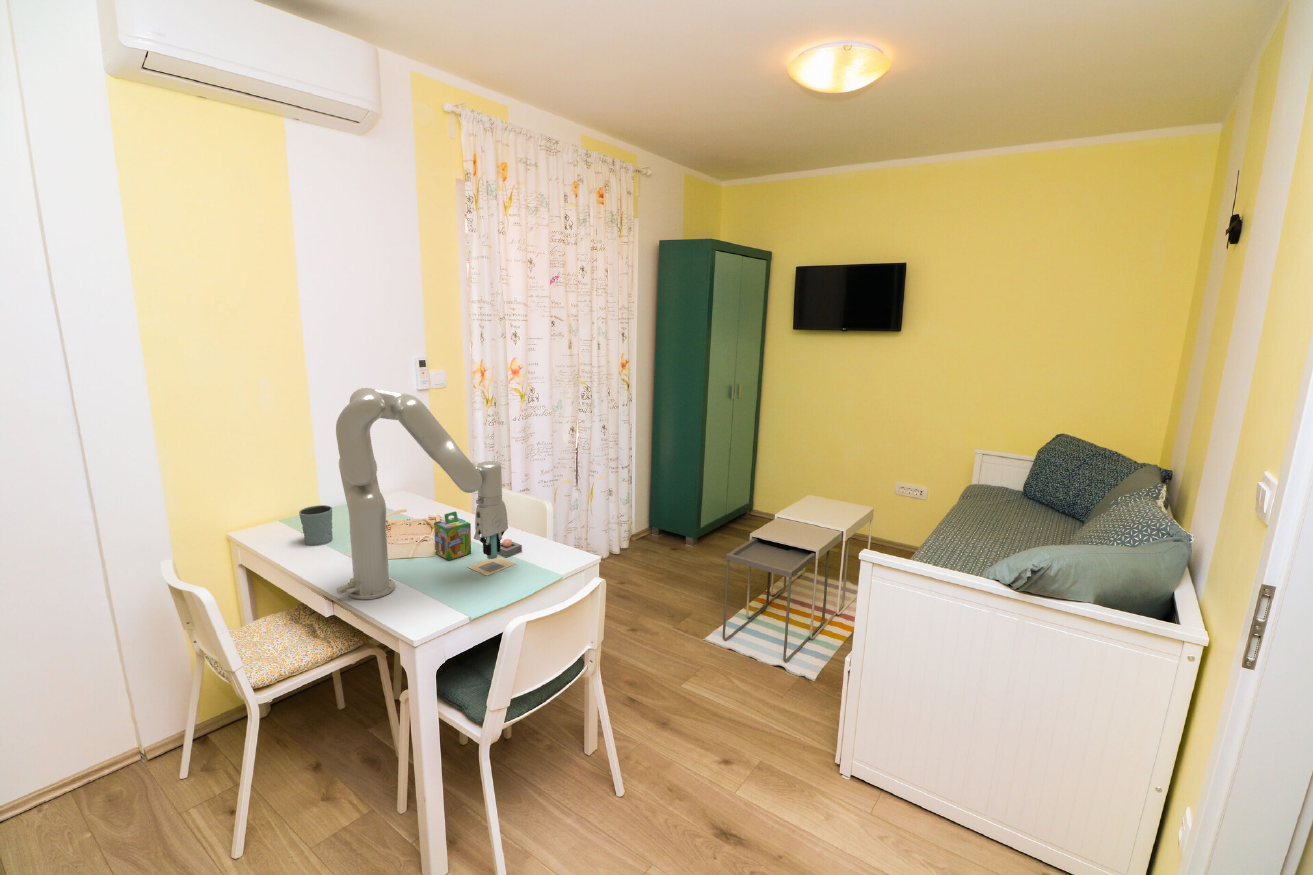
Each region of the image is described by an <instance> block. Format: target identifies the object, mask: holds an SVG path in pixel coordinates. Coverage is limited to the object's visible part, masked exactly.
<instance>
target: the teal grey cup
mask: <svg viewBox="0 0 1313 875" xmlns="http://www.w3.org/2000/svg"><path fill="white" fill-rule="evenodd" d="M298 514H299V518H300V523H301V525H302V527H301V528H302V532H303V537H304V543H305V544H306V546H312V547H316V546H317V547H318V546H323V545H326V544H329V543H331V542H332V541H333V507H332V506H330V505H328V504H327V505H326V504H325V505H321V504H319V505H312V506H307V507H304V508H302V509H300V510H299V512H298Z"/></svg>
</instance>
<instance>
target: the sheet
mask: <svg viewBox="0 0 1313 875" xmlns="http://www.w3.org/2000/svg"><path fill="white" fill-rule="evenodd" d="M515 565H516V562H512V561H511V560H507V558H504V557H501V556H499V555H497V558H495V559H488V558H487V559H484V560H482V561H479V562H476V563H473V564H471V565H469V566H467V567H466V568H468V569H470V570H472V571H475V572H477V573H479V574H481V575H484V576H487V577H488V576H491V575H494V574H495V573H498V572H500V571H502V570H505V569H507V568H509V567H513V566H515Z"/></svg>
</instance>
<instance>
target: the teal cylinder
mask: <svg viewBox="0 0 1313 875" xmlns="http://www.w3.org/2000/svg"><path fill="white" fill-rule="evenodd" d="M489 544H491V555H490V556H488V555H486V558H487V559H495V558H497V556H498V554H497V534H495V535H492V536H490V539H489Z"/></svg>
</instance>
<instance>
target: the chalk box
mask: <svg viewBox="0 0 1313 875" xmlns="http://www.w3.org/2000/svg"><path fill="white" fill-rule="evenodd" d="M451 516H453V517H451ZM449 517H450V518H449ZM471 528H472V527H471V522H469V521H466V520H465V519H463V518H459V517H458V512H457V511H452V512H446V513H445V514H444V519H442V520H439V521H435V522H434V523H433V530H434V551H435V550H436V555H437V556H439V557H441V558H443V559H444V560H446V561H452V560H455V559H458V558H461V557H464V556H468V555H471V554H472V539H471V538H472V535H471V534H472V532H471Z"/></svg>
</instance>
